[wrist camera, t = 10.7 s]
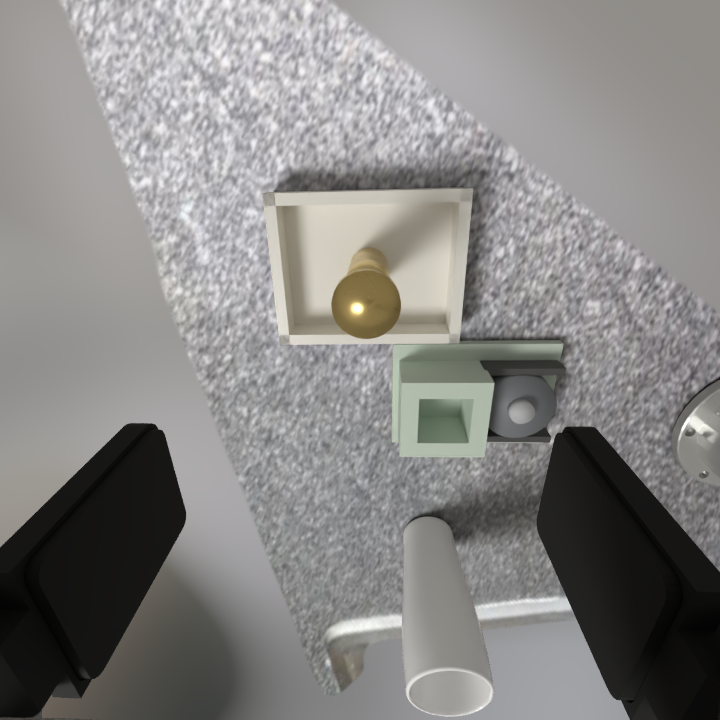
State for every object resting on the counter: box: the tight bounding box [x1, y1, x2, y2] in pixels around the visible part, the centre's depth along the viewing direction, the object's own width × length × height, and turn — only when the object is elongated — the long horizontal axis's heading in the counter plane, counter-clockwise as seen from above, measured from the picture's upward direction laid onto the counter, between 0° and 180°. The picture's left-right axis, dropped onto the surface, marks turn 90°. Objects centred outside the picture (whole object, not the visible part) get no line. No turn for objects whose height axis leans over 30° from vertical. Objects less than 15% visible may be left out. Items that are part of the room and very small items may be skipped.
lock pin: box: [331, 248, 401, 339], centre depth 26 cm, size 4×4×10 cm
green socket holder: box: [392, 340, 566, 457], centre depth 34 cm, size 14×10×5 cm
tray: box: [262, 187, 473, 345], centre depth 30 cm, size 14×11×3 cm
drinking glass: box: [402, 516, 494, 717], centre depth 37 cm, size 7×7×15 cm
